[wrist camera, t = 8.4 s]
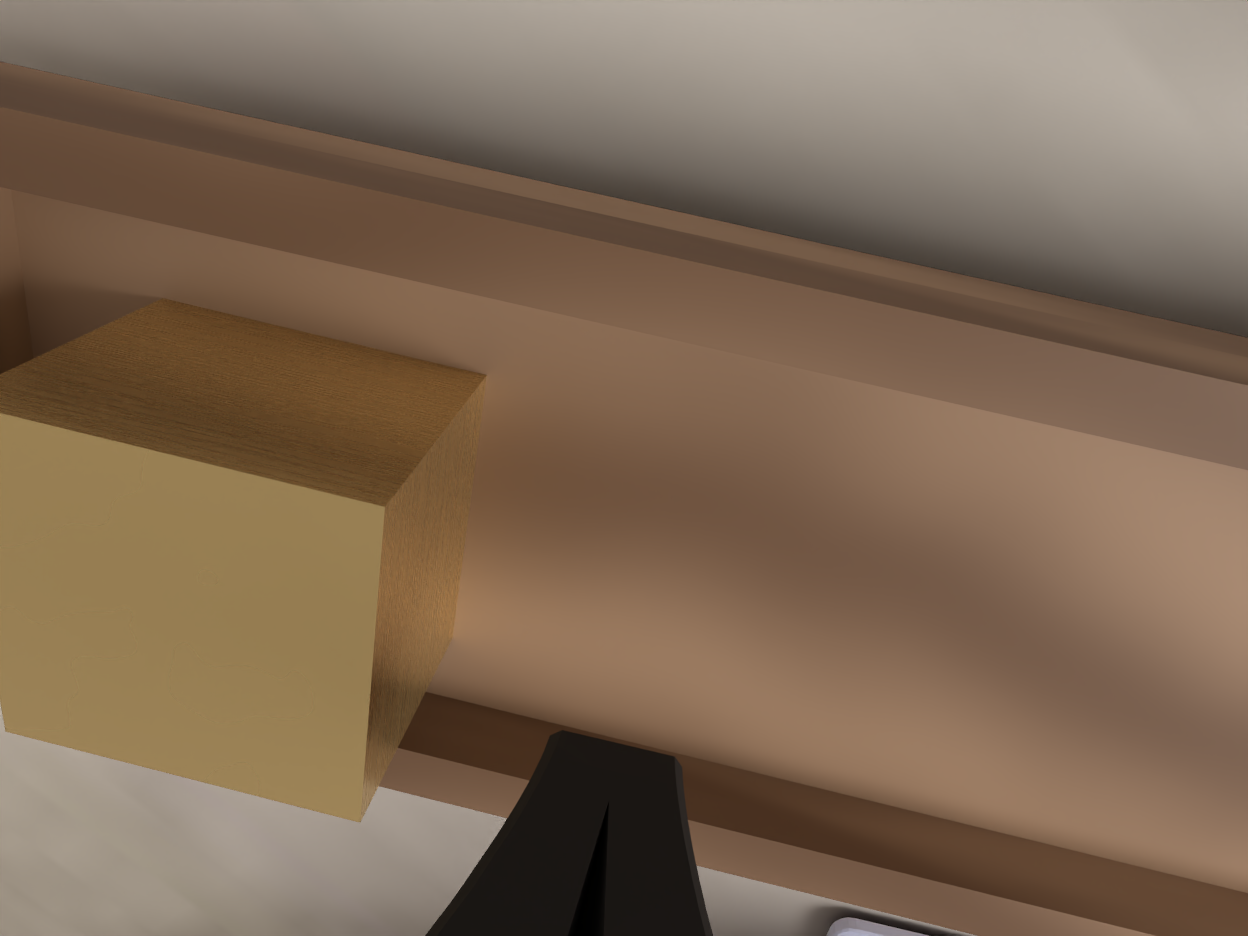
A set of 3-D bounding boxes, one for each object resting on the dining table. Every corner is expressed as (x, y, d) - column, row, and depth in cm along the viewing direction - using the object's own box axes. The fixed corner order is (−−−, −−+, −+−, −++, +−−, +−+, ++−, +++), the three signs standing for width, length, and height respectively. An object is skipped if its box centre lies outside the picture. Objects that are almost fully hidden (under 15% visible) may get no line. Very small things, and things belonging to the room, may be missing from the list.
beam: (1479, 942, 17) (1591, 1088, 15) (65, 596, 18) (-37, 682, 16) (1938, 490, 12) (2209, 600, 10) (-7, 60, 13) (-168, 68, 11)
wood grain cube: (452, 638, 15) (360, 822, 12) (177, 569, 16) (5, 731, 12) (486, 375, 13) (385, 507, 10) (163, 298, 13) (-55, 399, 10)
